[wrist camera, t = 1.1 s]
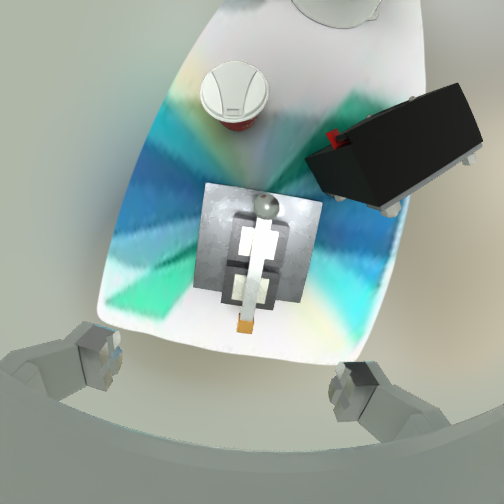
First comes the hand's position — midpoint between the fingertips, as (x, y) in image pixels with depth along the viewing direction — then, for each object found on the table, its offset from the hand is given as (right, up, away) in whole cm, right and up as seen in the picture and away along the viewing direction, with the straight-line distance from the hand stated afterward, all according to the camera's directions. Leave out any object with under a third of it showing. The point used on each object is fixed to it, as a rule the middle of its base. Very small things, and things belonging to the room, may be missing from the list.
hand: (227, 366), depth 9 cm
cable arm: (+1, +2, +29) cm, 29 cm away
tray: (+1, +5, +35) cm, 35 cm away
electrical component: (+18, +20, +31) cm, 41 cm away
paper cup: (-1, +25, +30) cm, 39 cm away
